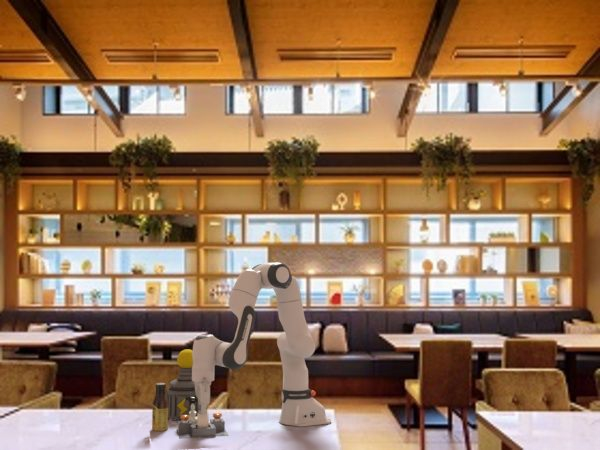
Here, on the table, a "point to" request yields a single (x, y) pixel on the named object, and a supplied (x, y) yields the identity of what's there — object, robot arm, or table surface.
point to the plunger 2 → (217, 416)
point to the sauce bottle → (160, 409)
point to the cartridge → (202, 420)
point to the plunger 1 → (184, 418)
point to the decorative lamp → (182, 388)
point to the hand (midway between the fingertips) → (202, 411)
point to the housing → (201, 429)
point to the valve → (192, 408)
